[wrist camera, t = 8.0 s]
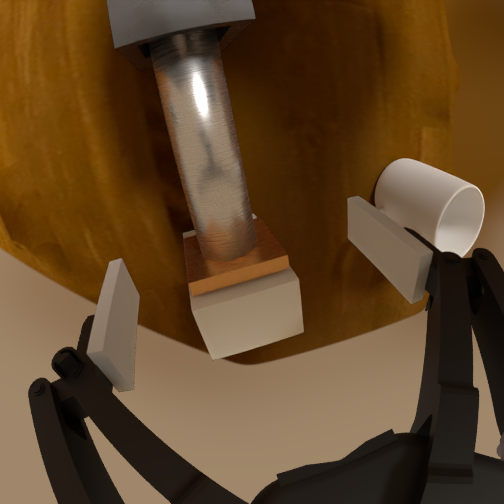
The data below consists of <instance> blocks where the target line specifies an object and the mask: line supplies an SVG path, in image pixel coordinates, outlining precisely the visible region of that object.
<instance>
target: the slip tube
mask: <svg viewBox="0 0 504 504" xmlns="http://www.w3.org/2000/svg"><path fill="white" fill-rule="evenodd" d="M148 43H149V48H150V53H151V58H152V63H153V67H154V72H155V77H156V81H157V86H158V90H159V95H160V99H161V103H162V108H163V112H164V116H165V120H166V124H167V129H168V133H169V137H170V141H171V145H172V149H173V152H174V156H175V160H176V164H177V168H178V172H179V175H180V179H181V183H182V186H183V190H184V194H185V197H186V201H187V205H188V208H189V212H190V215H191V219H192V222H193V226H194V229H195V232H196V235H193V236H190V237H186V238H183V240H184V250H185V259H186V268H187V277H188V284H189V287H190V289H191V292H192V295H193V296H195V295H199V294H202V293H206V292H209V291H213V290H216V289H220V288H223V287H227V286H230V285H234V284H237V283H241V282H244V281H247V280H251V279H254V278H258V277H261V276H264V275H268V274H271V273H274V272H278V271H281V270H284V269H288V268H289V260H288V255H287V253H286V252H285V250H284V249H283V248H282V246H281V245H280V243H279V242H278V241H277V239H276V238H275V236H274V235H273V234H272V232H271V231H270V230H269V228H268V227H267V225H266V224H265V223H264V221H263V220H262V219H261V217H259V218H255V219H253V215H252V210H251V205H250V200H249V195H248V189H247V184H246V179H245V174H244V169H243V164H242V159H241V154H240V148H239V143H238V138H237V133H236V128H235V123H234V118H233V113H232V108H231V103H230V98H229V93H228V88H227V83H226V78H225V73H224V68H223V63H222V58H221V53H220V49H219V44H218V39H217V34H216V29H215V28H210V29H204V30H199V31H194V32H189V33H184V34H180V35H175V36H171V37H167V38H163V39H159V40H155V41H151V42H148Z"/></svg>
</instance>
